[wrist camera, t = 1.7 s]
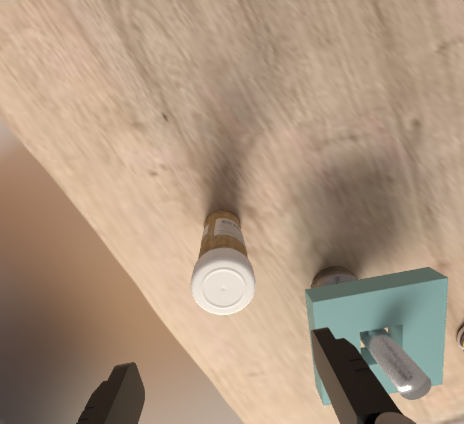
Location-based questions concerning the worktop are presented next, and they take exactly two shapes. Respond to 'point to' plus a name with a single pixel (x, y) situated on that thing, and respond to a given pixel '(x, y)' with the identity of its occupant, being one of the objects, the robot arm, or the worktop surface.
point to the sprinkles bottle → (222, 267)
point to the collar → (386, 318)
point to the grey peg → (383, 346)
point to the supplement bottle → (461, 338)
